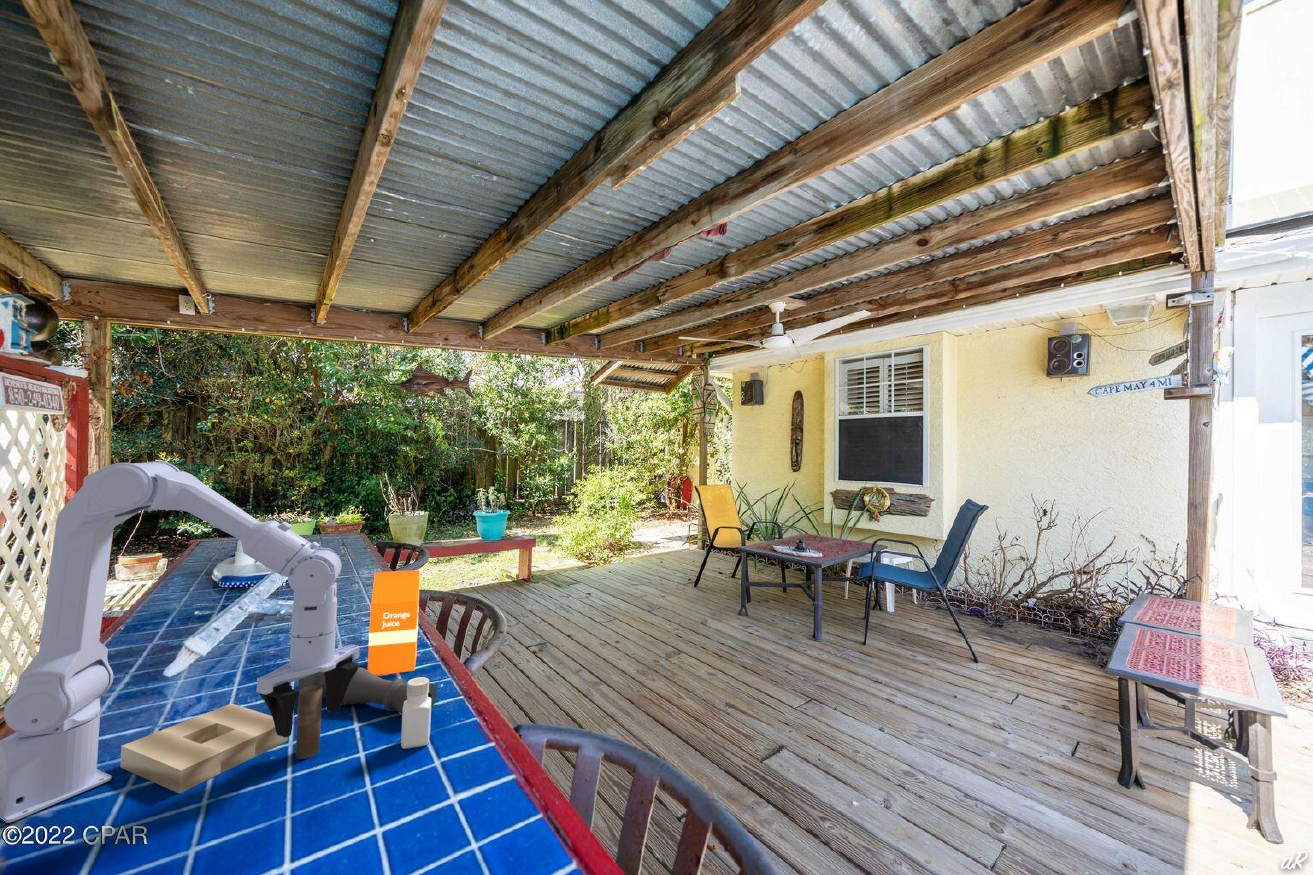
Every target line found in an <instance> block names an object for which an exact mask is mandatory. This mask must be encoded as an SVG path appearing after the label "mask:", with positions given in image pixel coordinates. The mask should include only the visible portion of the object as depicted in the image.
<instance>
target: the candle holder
mask: <svg viewBox="0 0 1313 875" xmlns="http://www.w3.org/2000/svg"><path fill="white" fill-rule="evenodd" d="M407 682H408V681H406V680H405V679H404V678H397V679H395V680H393V681H392V680H388V679H383V678H381V677H379V675H378V676H377V675H374V674H373V673H371V672H369V671H368V669H366V668H364V667H358V670H357V672H356V673H355V674H354V676H353V678H352V680H351V681H350V683H349V685H348V688H347V690H346V693H345V695H344V699H343V702H342V704H343V705H359V704H371V703H372V704H378V705H382V706H383V708H384V709H385V710H386V711H388V712H394V711H397V712H398V713H399V714H400V715H401V716H402V710H403V704H404V701H406V700H407ZM312 685H320V686H322V687H323V688H322V699H326V681H325V675H324V672H317V673H314V674H312V675H309V676H307V677H304V678H302V679H299V680H298V689H299V690H300V689H302V688H304V687H307V686H312ZM299 690H298V691H299ZM437 692H438V691H437V687H436V685H435V684H434V683H431V682H429V692H428V697H430V698H431V711H432V710H433V708H434V706H435V705H436V700H437V697H438V696H437Z"/></svg>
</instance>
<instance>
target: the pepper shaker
mask: <svg viewBox="0 0 1313 875" xmlns="http://www.w3.org/2000/svg"><path fill="white" fill-rule="evenodd" d="M406 682H407V700H406V701H404V704H403V710H402V715H401V731H400V732H401V733H400V735H401V736H400V746H401V748H402V749H411V748H419V747H424V746H426V745H428V744H429V742H430V737H431V736H430V735H431V718H432V717H431V716H432V715H431V714H432V710H431V698H430V697H428V692H429V683H430V679H429V678H428V677H424V676H422V677H421V676H420V677H414V678H411V679H409V680H408V681H406Z"/></svg>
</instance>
